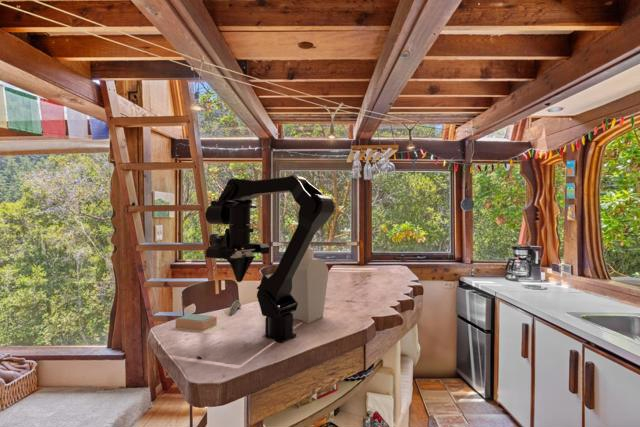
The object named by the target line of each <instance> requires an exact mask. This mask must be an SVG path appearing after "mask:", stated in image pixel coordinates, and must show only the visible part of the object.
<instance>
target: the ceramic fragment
mask: <svg viewBox="0 0 640 427" xmlns="http://www.w3.org/2000/svg"><path fill="white" fill-rule="evenodd" d="M241 307H242V303H241V302H240V301H239V300H238V299H237V300H234V302H232V304H231V306H230V307H229V308H226V309H224V310H223V311H222V312H223V313H224V314H226V315H228V316H229V317H232V316H234V315H235V314H236V313H235V312H236V311H237V309H239V308H241Z"/></svg>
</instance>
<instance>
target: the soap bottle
mask: <svg viewBox="0 0 640 427" xmlns="http://www.w3.org/2000/svg"><path fill="white" fill-rule="evenodd" d="M292 236H293V234H292V235H290V236H289V237H290V239H291V238H292ZM313 239H317V236H316V235H314V237H313ZM314 251H315V250H314V248H312V247H311V244H310V245H309V246H308V248H307V250H306V252H305V254H304V256H303V258H302V260H301V262H300V264H299V266H298V268H297V270H296V272H295V274H294V276H293V278H292V290H291V293H290V294H291V295H292V296H293V298H294V299H295V300H296V302H297V303H298V306H297V309H296V311H293V312H291V313H293V320H301V321H300V322H301V323H306V324H310V323H312V322H313V321H316V320H319V319H321V318H323V317H324V312H325V311H324V310H325V302H326V294H327V288H328V287H327V286H328V279H329V268H328V265H327V264H326V263H325V261H324V260H322V259H321V258H315V256H314V254H315V253H314Z"/></svg>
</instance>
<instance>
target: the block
mask: <svg viewBox="0 0 640 427" xmlns="http://www.w3.org/2000/svg"><path fill="white" fill-rule="evenodd" d="M217 319H218V318H217V316H215V315H206V314H196V313H189V314H186V315H183V316H180V317H178V318H175V328H176V327H178V328H186V329H195V330H203V331H204V330H206V329H208V328H210V327H212V326H214V325H217V323H218V320H217Z"/></svg>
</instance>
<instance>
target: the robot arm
mask: <svg viewBox="0 0 640 427" xmlns="http://www.w3.org/2000/svg"><path fill="white" fill-rule="evenodd" d="M285 193H291V195H292V198H293V199H294V201H295V202H296V203H297V205H299V209H298V214H297V216H298V219H297V221H298V224H297V226H296V228H295V230H294V232H293V234H292V235H293V236H292V235H291V236H292V238H290V241H289V242H288V245H286V246H287V247H286V249H285V251H284V253H283V255H282V257H281V259H280V261H279V263H278V265H277V267H276V269H275V271H274V272H273V273H270V274H264V275H263V276H262V278H261V281H260V283H259V285H258V286H257V287H256V290H257V293H256V298H257V302H258V305H259V308H260V311H261V315H262V316H263V317H265V320H264V322H265V325H264V326H265V334H264V335H262V338H265V339H270V340H273V341H274V342H277V343H284V342H286V341H288V340H291V339H294V338H296V337H297V333H294V319H293V313H291V312H293V311H296V309H297V306H298V303H297V302H296V300H295V299H294V298H293V296H292V295H291V294H290V293H291V290H292V278H293V276H294V274H295V272H296V270H297V268H298V266H299V264H300V262H301V260H302V258H303V256H304V254H305V252H306V250H307V248H308V246H309V245H310V246H311V243H312V240H313V239H314V238H313V237H314V236H316V233H317V231H319V230H320V229H321V228H322V227H323V226H324V225H325V224H326V223H327V222H328V221H329V219H330V218H331V217H332V216H333V214H334V212H335V209H336V206H335V202H334V200H333V199H332V198H331V197H330V196H329V195H325V194H323V192H322V191H320V190H319V189H318V188H316V187H315V186H314V185H313V184H311V183H310V182H309V180H307V179H306V178H305V177H304V176H299V175H294V174H291V175H288V176H283V177H273V178H272V177H271V178H265V179H258V180H251V179H243V178H242V179H241V178H229V179H228V181H227V182H226V185H225V187H224V189H223V190H222V192H221V193H220V195H219V198H218V199H217V200H211V201H210V205H209V206H207V208H206V210H205V212H204V216H205V220H206V222H207V223H208V224H209V225H226V226H227V225H228V228H225V231H224V234H222V235H219V233H212V234H209V237H208V238H209V240H208V242H209V246H208V247H207V248H206V250H205V258H206V259H207V258H208V259H218V260H219V259H220V260H222V259H223V260H226V261H227V262H228V263H229V264H230V267H231V269H232V272H233V274H234V277H235V281H236V282H237V283H242V282H243V280H244V278H245V275H246V273H247V271H248V269H249V268H250V265H251V264H252V262H253V260H254V259H257V258H256V255H253V254H254V253H258V254H259V253H260V254H261V255H266V254H267V255H268V254H270V246H269V245H268V243H259V242H254V243H253V242H252V243H251V233H254V228H251V209H257V208H258V206H257V205H256V203H254V202H253V200H254V199H256V198H257V199H258V197H260V196H263V195H273V194H274V195H275V194H285Z"/></svg>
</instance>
